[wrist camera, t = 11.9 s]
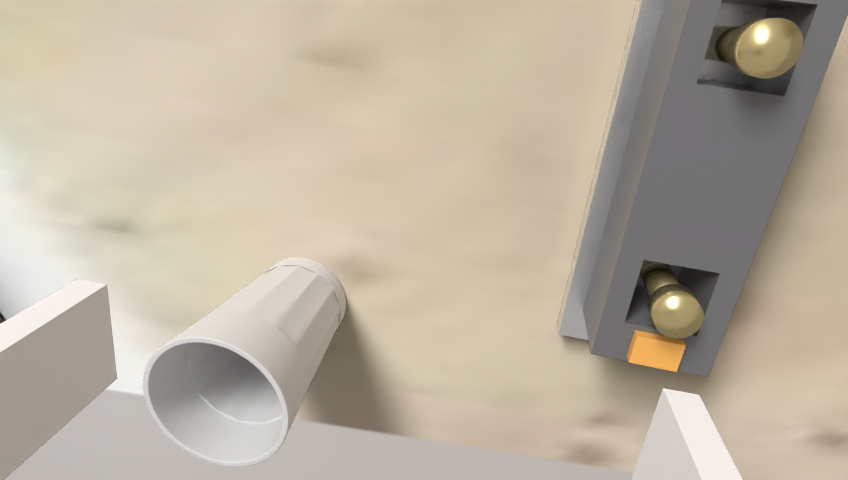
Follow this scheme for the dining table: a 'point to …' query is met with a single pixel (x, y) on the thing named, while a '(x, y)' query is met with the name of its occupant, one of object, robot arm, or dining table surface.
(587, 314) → the grey rectangular block
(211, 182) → the dining table surface
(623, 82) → the grey plate brass knobs
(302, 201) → the dining table surface
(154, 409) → the cup
